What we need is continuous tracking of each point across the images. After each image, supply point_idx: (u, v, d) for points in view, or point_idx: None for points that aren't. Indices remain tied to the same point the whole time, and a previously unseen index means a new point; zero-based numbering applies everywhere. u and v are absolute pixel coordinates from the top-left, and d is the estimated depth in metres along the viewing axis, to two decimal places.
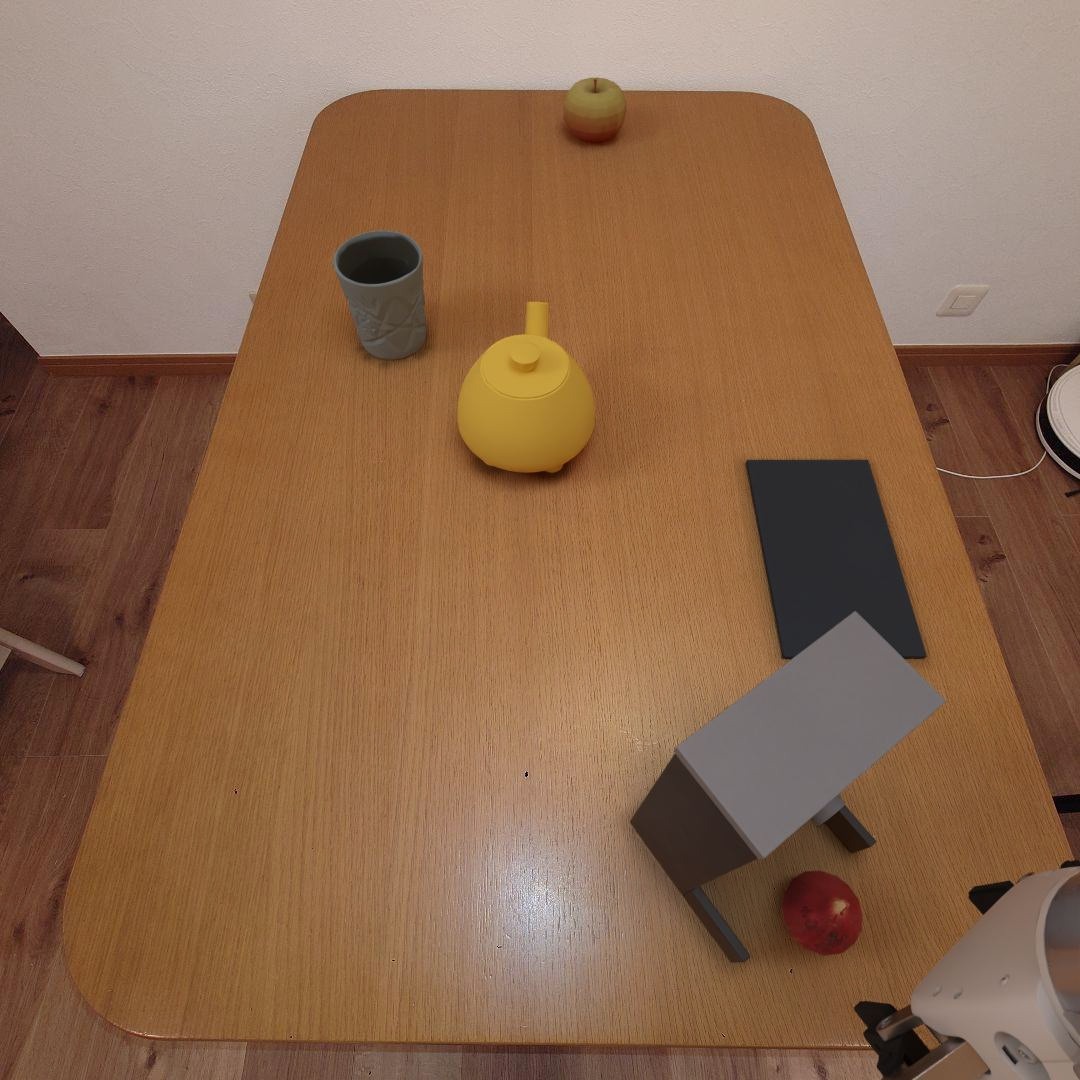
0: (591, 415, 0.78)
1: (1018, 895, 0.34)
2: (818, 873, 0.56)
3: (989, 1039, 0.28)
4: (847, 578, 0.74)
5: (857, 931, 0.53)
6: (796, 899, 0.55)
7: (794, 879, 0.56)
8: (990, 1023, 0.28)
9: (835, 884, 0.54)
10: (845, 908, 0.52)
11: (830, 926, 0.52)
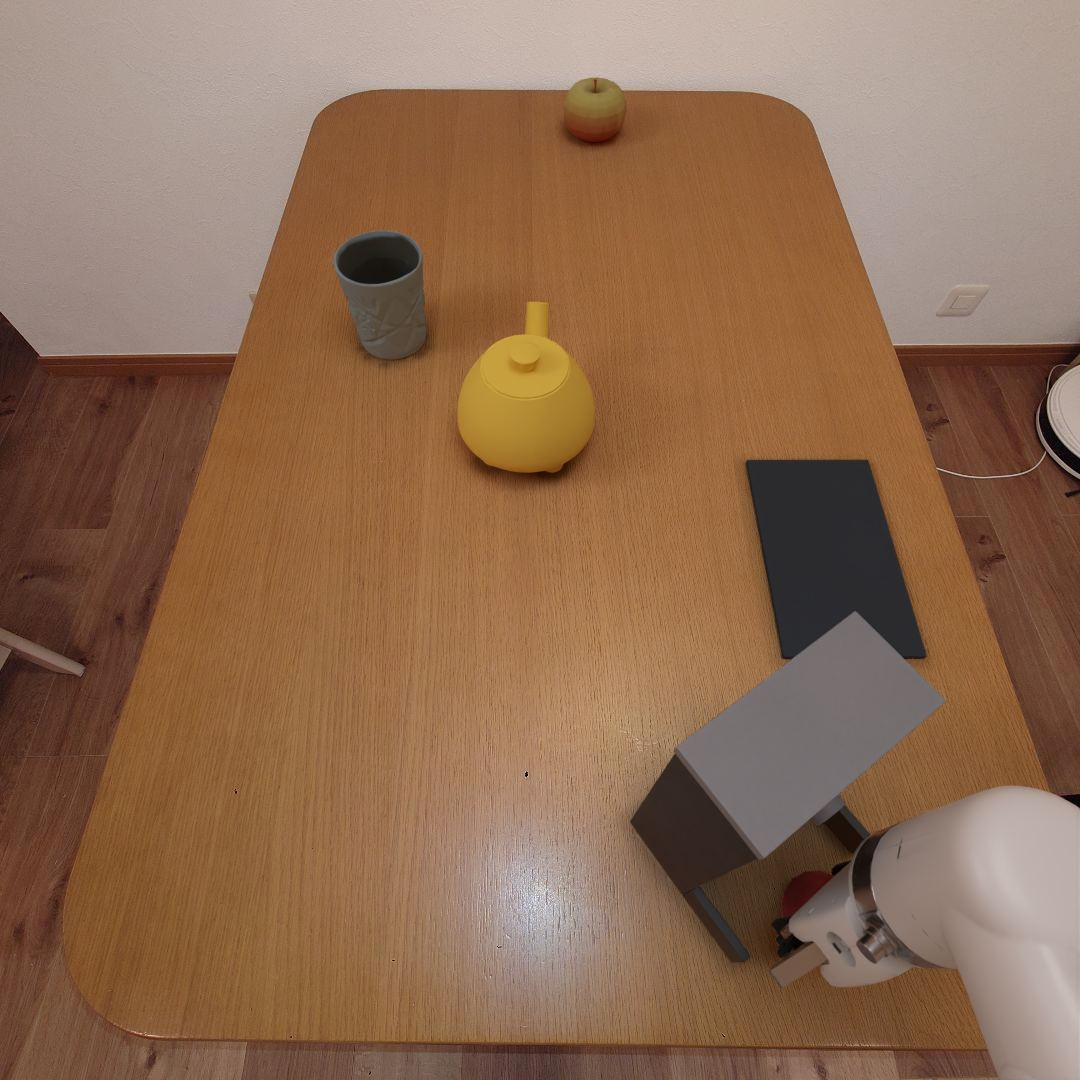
0: (591, 415, 0.78)
1: None
2: (818, 873, 0.56)
3: (824, 938, 0.44)
4: (847, 578, 0.74)
5: None
6: (796, 899, 0.55)
7: (794, 879, 0.56)
8: (824, 927, 0.44)
9: None
10: None
11: None
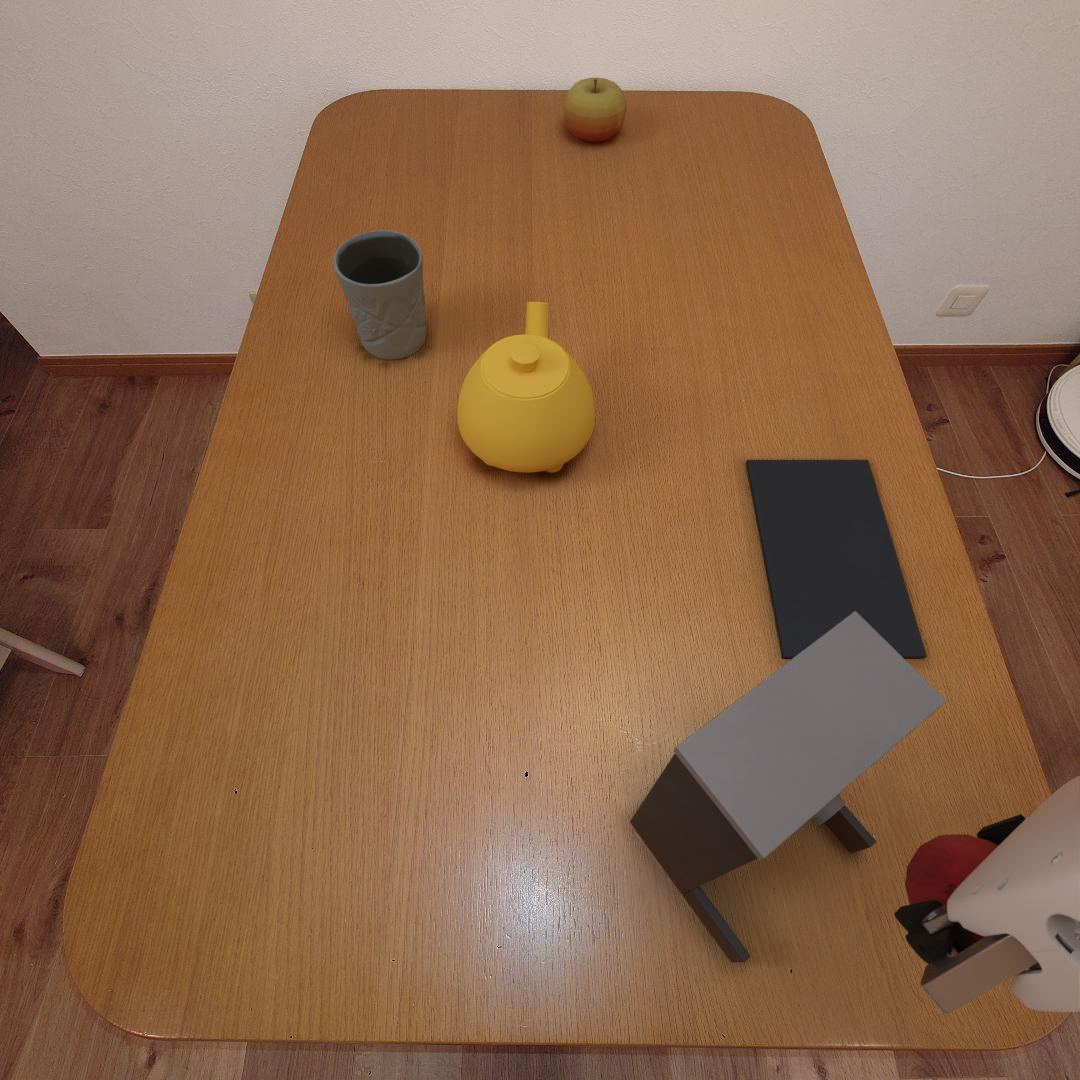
0: (591, 415, 0.78)
1: (1064, 792, 0.31)
2: (963, 836, 0.37)
3: (1040, 927, 0.25)
4: (847, 578, 0.74)
5: None
6: (934, 874, 0.36)
7: (925, 846, 0.38)
8: (1041, 907, 0.25)
9: None
10: None
11: None
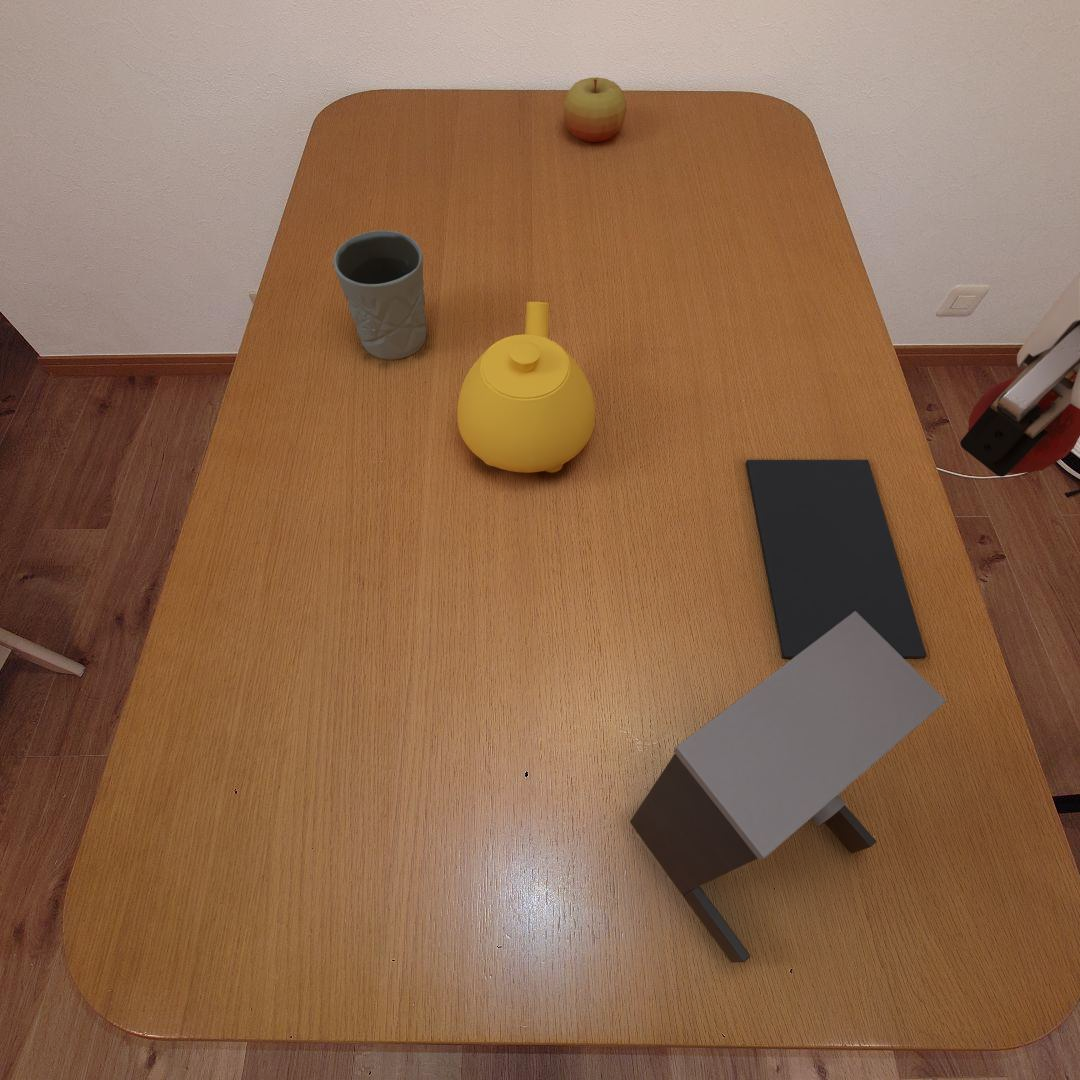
0: (591, 415, 0.78)
1: None
2: None
3: None
4: (847, 578, 0.74)
5: None
6: (997, 396, 0.43)
7: (986, 392, 0.44)
8: None
9: None
10: (1073, 376, 0.40)
11: None
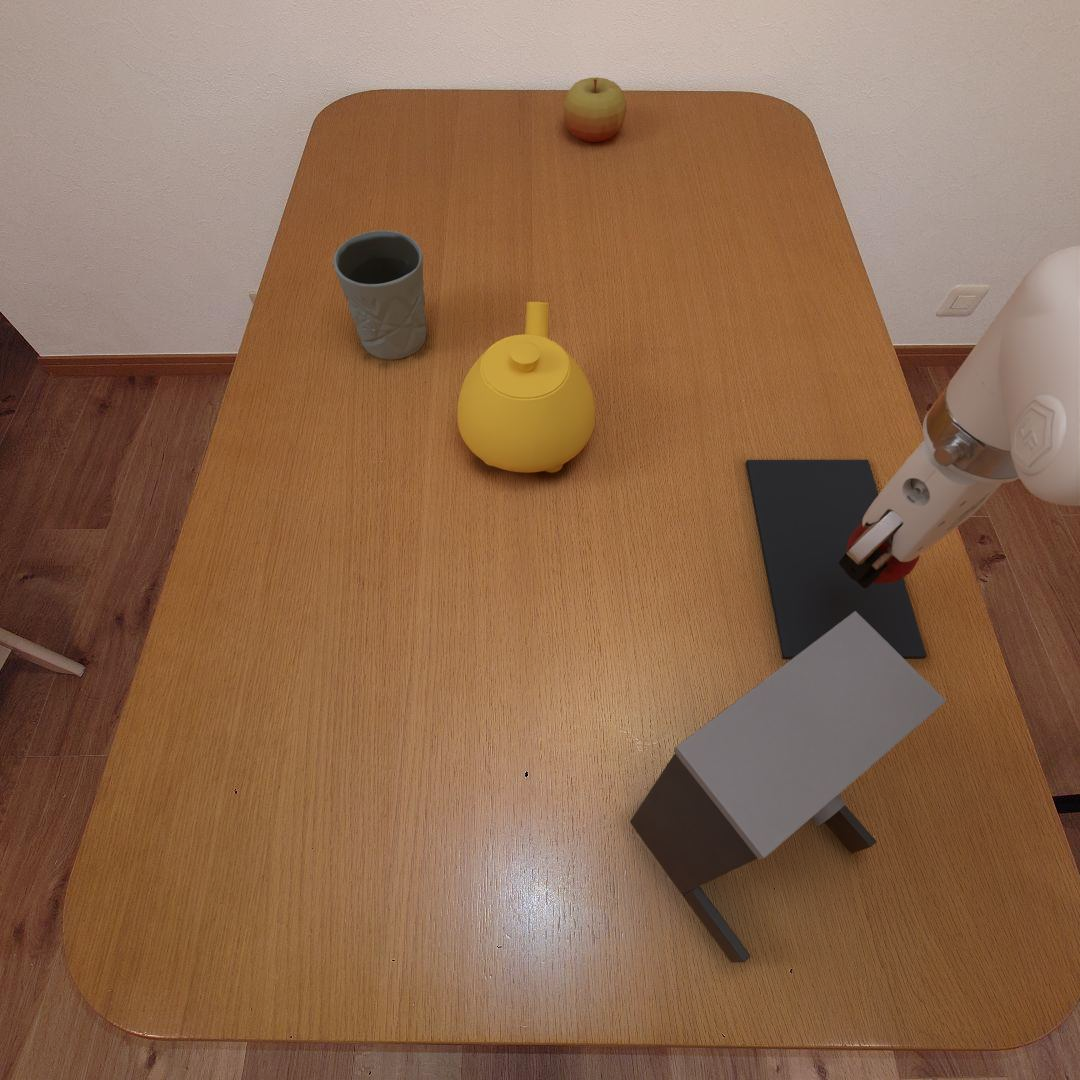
0: (591, 415, 0.78)
1: None
2: None
3: (900, 493, 0.52)
4: (847, 578, 0.74)
5: None
6: (861, 533, 0.62)
7: (858, 526, 0.64)
8: (900, 481, 0.51)
9: None
10: None
11: None
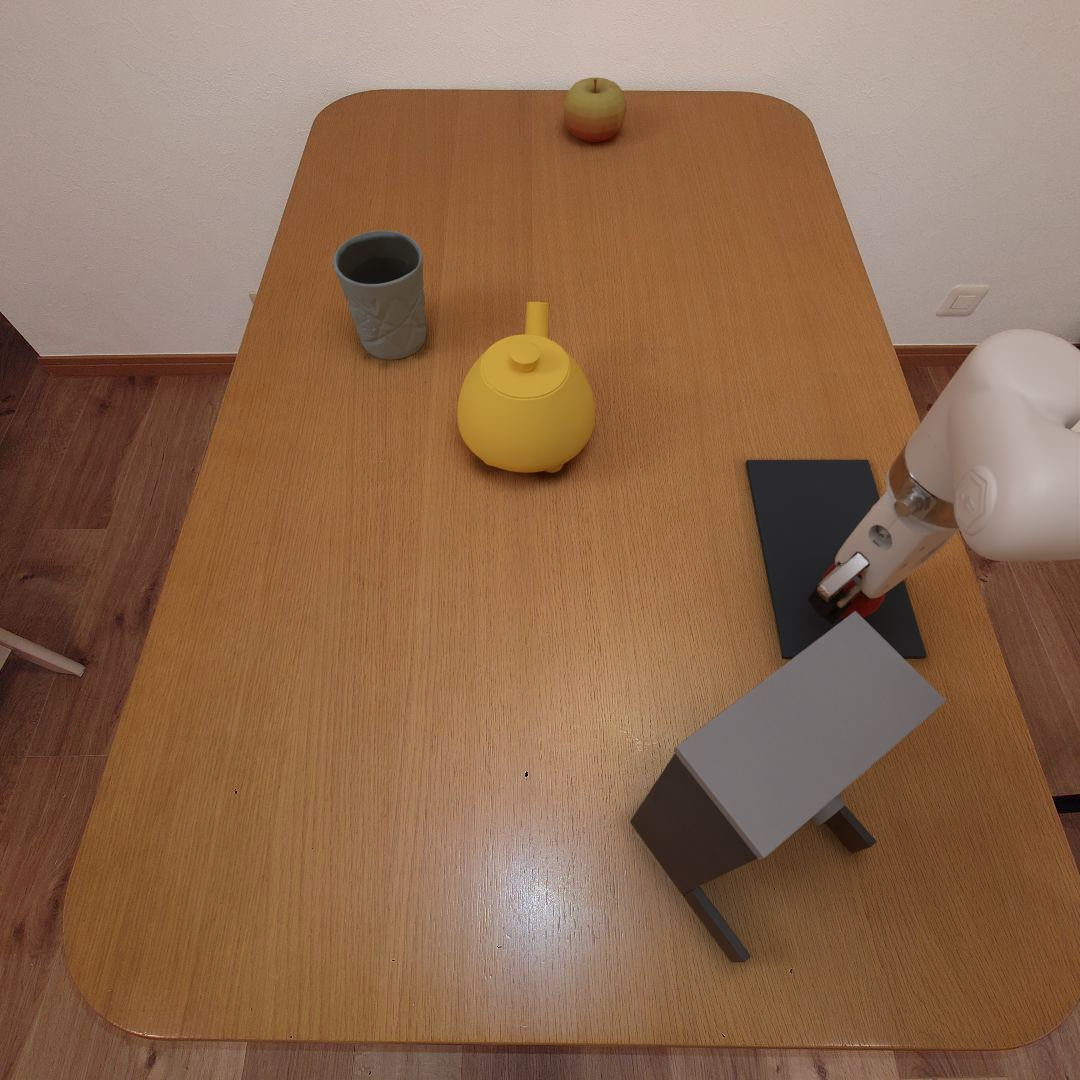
0: (591, 415, 0.78)
1: None
2: None
3: (867, 538, 0.57)
4: None
5: None
6: None
7: (830, 566, 0.70)
8: (866, 527, 0.57)
9: None
10: None
11: None
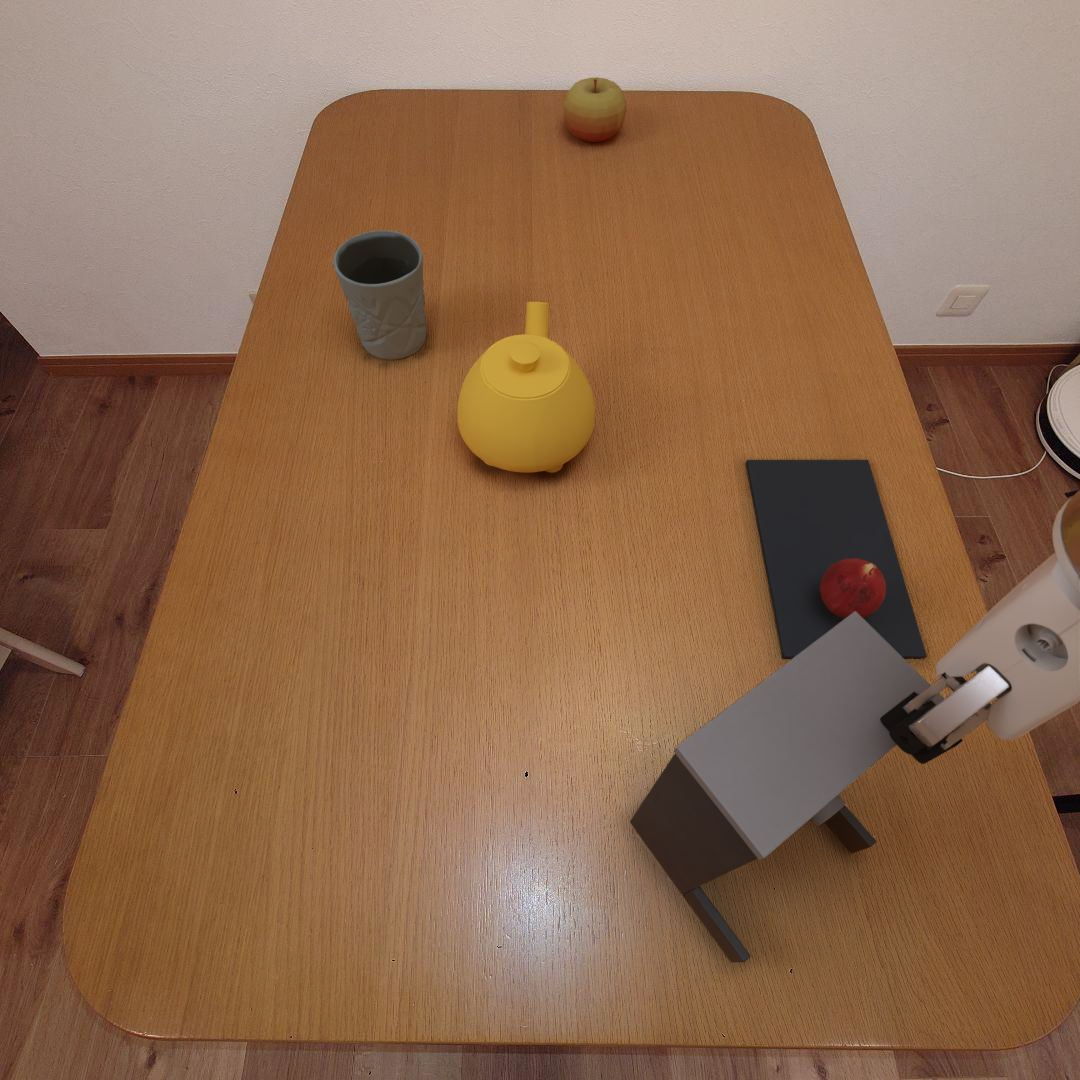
0: (591, 415, 0.78)
1: None
2: None
3: (1010, 644, 0.31)
4: None
5: (882, 592, 0.67)
6: (833, 573, 0.68)
7: (830, 566, 0.70)
8: (1011, 625, 0.31)
9: (864, 560, 0.68)
10: (873, 568, 0.66)
11: (861, 584, 0.66)
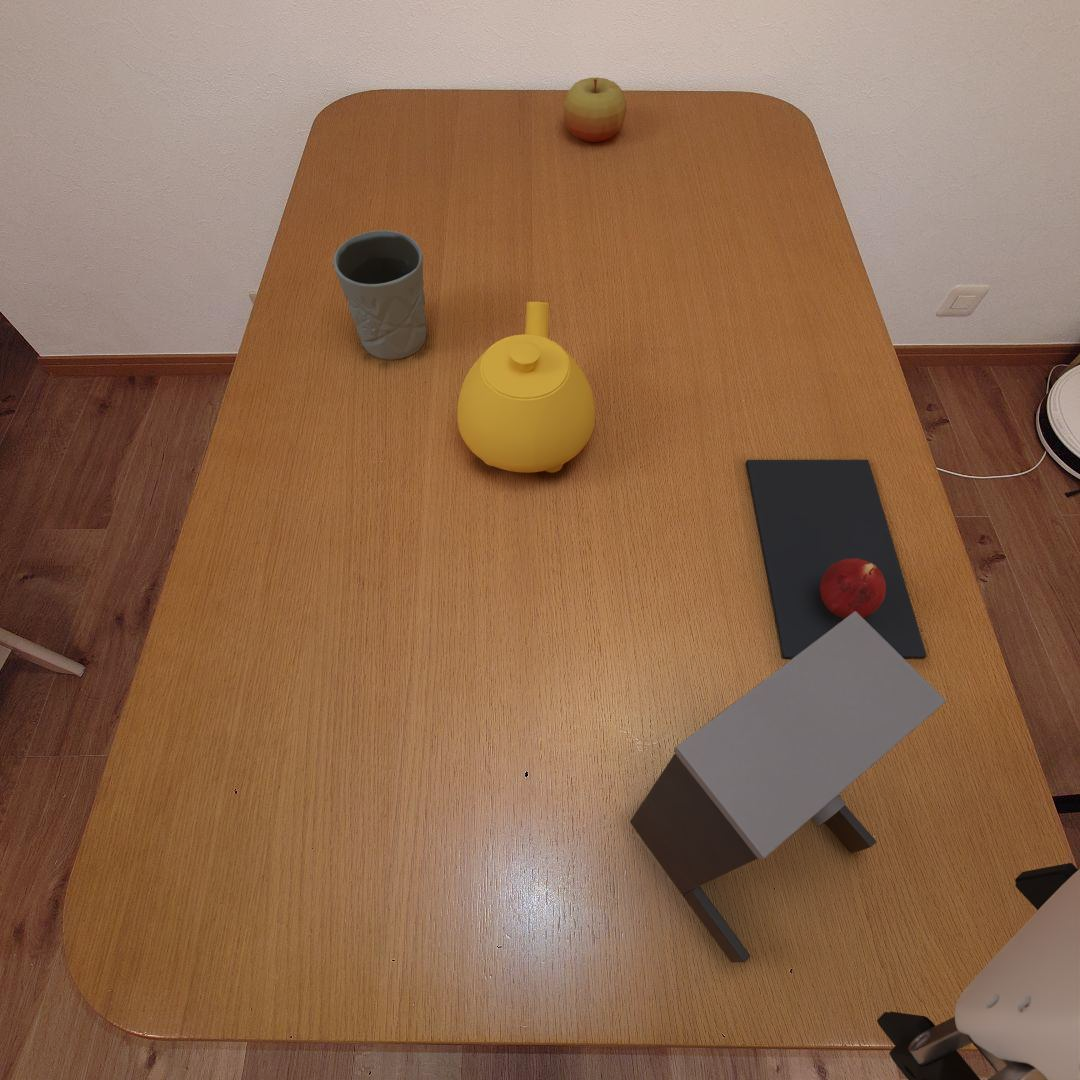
0: (591, 415, 0.78)
1: None
2: None
3: (1072, 1068, 0.21)
4: None
5: (882, 592, 0.67)
6: (833, 573, 0.68)
7: (830, 566, 0.70)
8: (1074, 1046, 0.21)
9: (864, 560, 0.68)
10: (873, 568, 0.66)
11: (861, 584, 0.66)
